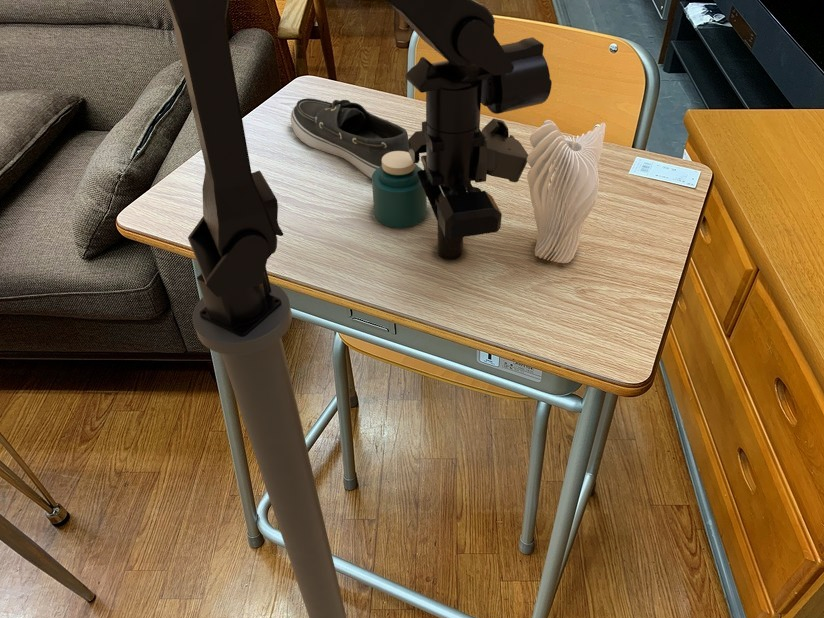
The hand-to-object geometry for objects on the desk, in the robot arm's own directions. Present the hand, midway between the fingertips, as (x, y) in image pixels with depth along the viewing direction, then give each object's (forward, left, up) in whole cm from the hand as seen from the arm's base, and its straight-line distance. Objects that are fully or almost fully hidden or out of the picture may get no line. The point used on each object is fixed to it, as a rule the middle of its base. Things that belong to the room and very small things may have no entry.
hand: (450, 239), depth 81 cm
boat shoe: (+14, +25, -2) cm, 29 cm away
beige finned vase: (+7, -11, -2) cm, 13 cm away
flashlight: (0, 0, -2) cm, 2 cm away
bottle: (+4, +10, -2) cm, 11 cm away
